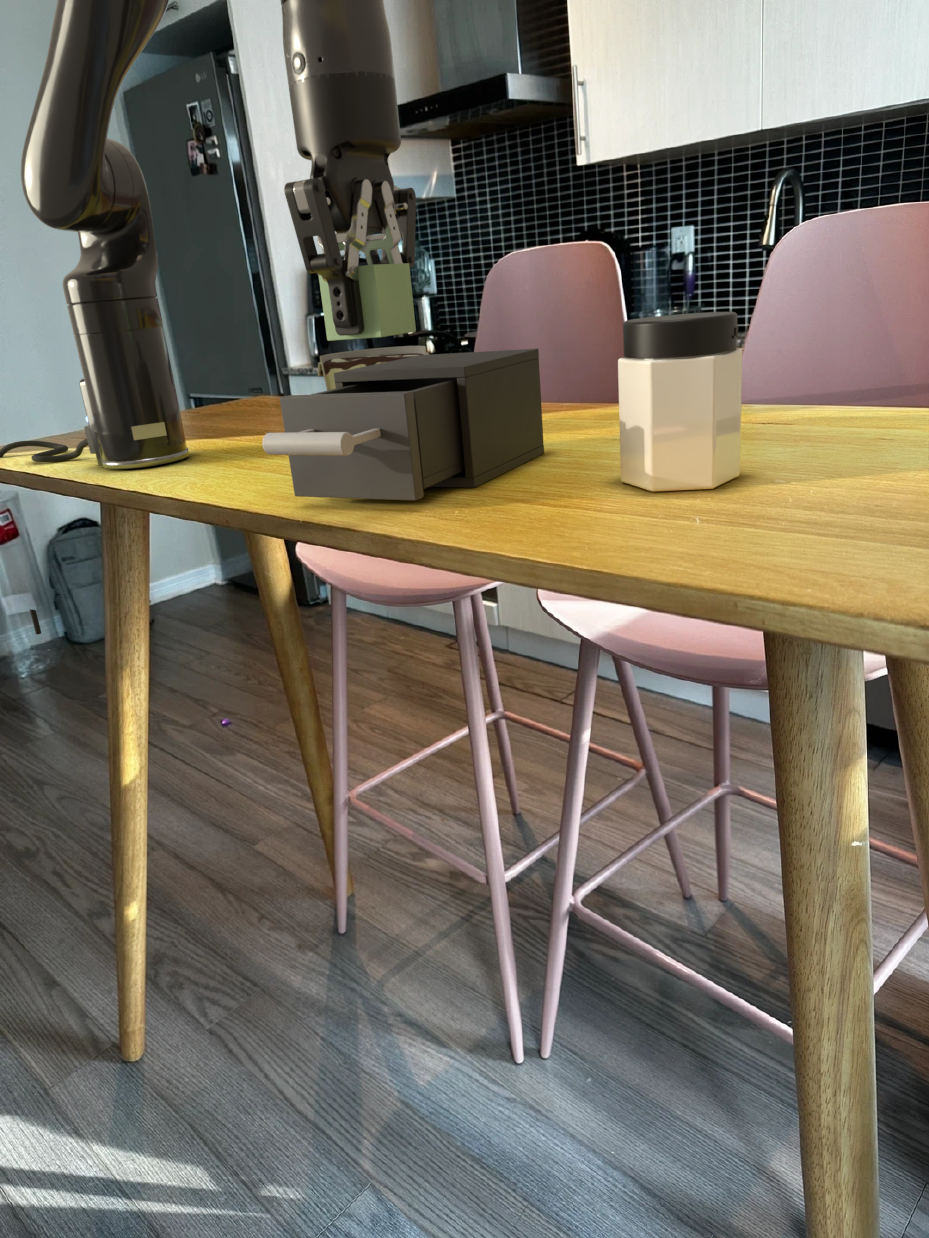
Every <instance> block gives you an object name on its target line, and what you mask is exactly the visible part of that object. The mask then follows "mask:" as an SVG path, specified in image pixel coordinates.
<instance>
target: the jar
mask: <svg viewBox="0 0 929 1238" xmlns="http://www.w3.org/2000/svg"><path fill="white" fill-rule="evenodd" d="M622 335H623V336H622V339H623V357H620V358H618V360H617V378H618V379H617V382H618V383H617V385H618V420H619V422H618V424H619V425H618V426H619V464H620V467H619V468H620V481H621V482H622V483H624V484H627V485H631V486H634V487H637V488H640V489H643V490H647V491H649V492H674V491H695V490H713V489H715V488H717V487H719V486H721V485H723V484H725V483H727V482H729V481H732V480H733V479H736V478H738V477H739V476H740V474H741V472H740V471H741V436H742V435H741V434H742V393H743V350H742V349H741V348H737V347H738V338H739V325H738V313H737V312H735V311H710V312H709V311H708V312H692V313H679V314H669V315H668V314H667V315H657V316H648V317H639V318H633V319H628V320H625V321H624V322H623V323H622Z"/></svg>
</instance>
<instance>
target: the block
mask: <svg viewBox="0 0 929 1238" xmlns="http://www.w3.org/2000/svg"><path fill="white" fill-rule="evenodd" d="M317 275H318V282H319V289H320V296H321V304H322V311H323V312H322V313H323V317H324V327H325V333H326V340H327V341H328V342H333V341H345V340H346V341H348V340H361V339H375V338H386V337H391V336H392V337H393V336H396V335H403V334H410V333H416V332H417V328H416V318H415V308H414V298H413V288H412V278H411V268H410V267H409V263H403V264H375V265H368V264H367V265H358V275H357V278H356V279H353V281H359V287H360V295H361V303H362V311H363V320H364V331H363V333H361V334H356V335H344V336H340V335H338V334H337V333H336V330H335V325H334V322H333V317H332V309H331V307H332V306H331V302H330V294H329V287H328V283H327V282H325V281H324V280H323V278H322V276H321V275H319V274H317Z"/></svg>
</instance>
